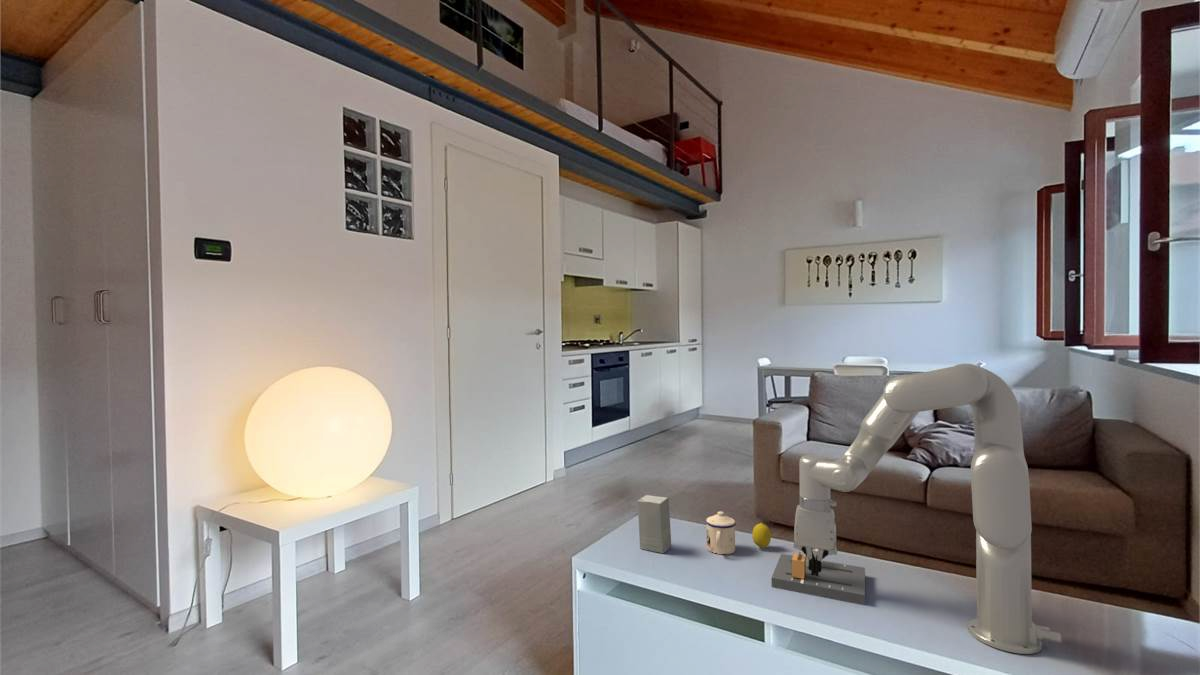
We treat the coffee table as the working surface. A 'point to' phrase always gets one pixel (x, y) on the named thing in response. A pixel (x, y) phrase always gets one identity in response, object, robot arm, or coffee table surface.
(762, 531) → the lemon
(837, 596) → the console
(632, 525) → the coffee table surface
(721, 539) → the teacup with lid
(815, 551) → the fader white
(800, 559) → the fader orange
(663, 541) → the skincare box
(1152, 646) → the coffee table surface
